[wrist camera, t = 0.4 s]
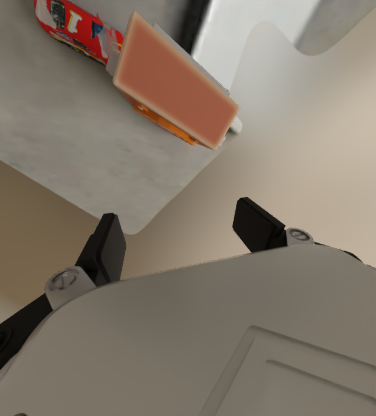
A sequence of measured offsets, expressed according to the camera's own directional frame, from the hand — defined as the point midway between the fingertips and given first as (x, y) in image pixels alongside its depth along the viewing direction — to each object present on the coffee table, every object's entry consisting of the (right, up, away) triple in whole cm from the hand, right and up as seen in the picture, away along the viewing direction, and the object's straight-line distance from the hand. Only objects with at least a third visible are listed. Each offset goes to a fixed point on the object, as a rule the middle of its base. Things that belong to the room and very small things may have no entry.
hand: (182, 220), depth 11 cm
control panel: (-5, +23, +22) cm, 32 cm away
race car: (-17, +31, +14) cm, 38 cm away
